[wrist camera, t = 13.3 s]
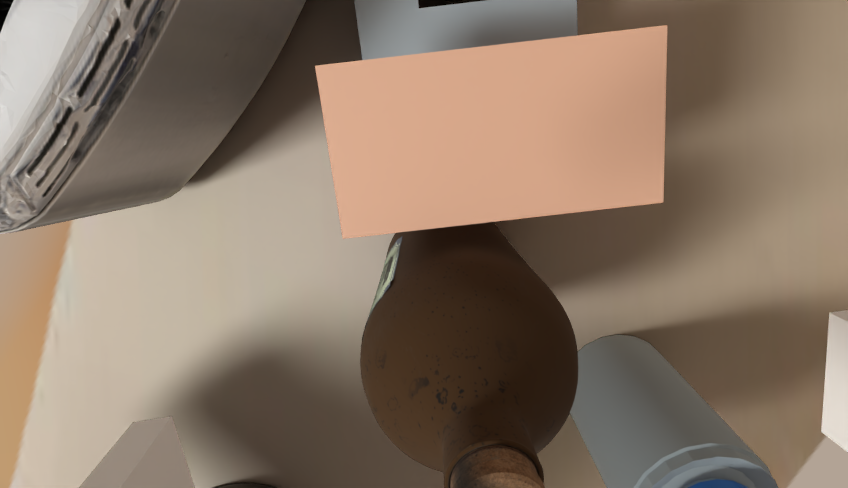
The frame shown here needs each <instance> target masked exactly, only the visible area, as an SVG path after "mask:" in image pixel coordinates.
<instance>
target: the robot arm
mask: <svg viewBox="0 0 848 488" xmlns="http://www.w3.org/2000/svg"><path fill="white" fill-rule="evenodd" d="M821 432H822V433H823V434H825V435H826V436H827V437H829V438H830V439H831V440H832V441H834V442H835V443H836V444H838V445H839V446H840V447H841V448H843V449H844V450H845V451H847V452H848V310H844V311H837V312H831V313H829V327H828V341H827V356H826V370H825V385H824V400H823V414H822V429H821ZM79 488H195V487H194V484H193V481H192V477H191V474H190V471H189V468H188V465H187V462H186V459H185V455H184V452H183V449H182V446H181V443H180V440H179V436H178V433H177V430H176V427H175V424H174V421H173V418H172V416H169V417H163V418H157V419H150V420H144V421H137V422H133V423H132V424H131V425H130V427H129V428H128V429H127V430H126V431H125V433H124V434H123V435H122V436H121V437H120V439H119V440H118V441H117V442H116V444H115V445H114V446H113V447H112V448H111V450H110V451H109V452H108V453H107V454H106V456H105V457H104V458H103V459H102V460H101V462H100V463H99V464H98V465H97V466H96V468H95V469H94V470H93V471H92V472H91V474H90V475H89V476H88V477H87V478H86V480H85V481H84V482H83V483H82V485H81V486H80V487H79ZM217 488H275V487H271V486H267V485H261V484H249V483H244V484H231V485H225V486H221V487H217Z"/></svg>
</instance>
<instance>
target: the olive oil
mask: <svg viewBox="0 0 848 488" xmlns="http://www.w3.org/2000/svg"><path fill="white" fill-rule="evenodd" d="M360 364H361V376H362V382H363V386H364V390H365V393H366V396H367V399H368V402H369V405H370V407H371V410H372V412H373V414H374V416H375V418H376V420H377V422H378V423H379V425H380V427H381V428H382V430H383V431H384V433H385V434H386V435H387V436H388V438H389V439H390V440H391V441H392V442H393V443H394V444H395V445H396V446H397V447H398V448H399V449H400V450H401V451H403V452H404V453H405V454H406V455H408V456H409V457H411V458H412V459H414V460H416V461H417V462H419V463H421V464H423V465H425V466H427V467H430V468H432V469H435V470H438V471H441V472H444V488H545V487H544V484H543V482H544V475H543V469H542V466H541V464H540V462H539V460H538V457H537V453H538V452H540V451H541V450H542V449H543V448H544V447H545V446H546V445H548V444H549V442H550V441H551V440H552V439H553V438H554V437H555V436H556V434H557V433H558V432H559V430H560V429H561V427H562V426H563V424H564V423H565V421H566V419H567V417H568V415H569V413H570V410H571V408H572V405H573V402H574V399H575V395H576V390H577V384H578V352H577V345H576V339H575V335H574V332H573V329H572V326H571V323H570V320H569V318H568V316H567V314H566V312H565V310H564V308H563V307H562V305H561V303H560V302H559V301H558V299H557V298H556V296H555V295H554V294H553V292H552V291H551V290H550V289H549V288H548V287H547V286H546V284H545V283H544V282H543V281H542V280H541V279H540V278H539V277H538V276H537V274H536V273H535V272H534V271H533V270H532V269H531V268H530V267H529V266H528V265H527V263H526V262H525V261H524V260H523V259H522V258H521V256H520V255H519V254H518V253H517V252H516V251H515V249H514V248H513V247H512V246H511V245H510V244H509V242H508V241H507V240H506V238H505V237H504V236H503V234H502V233H501V232H500V231H499V229H498V228H497V227H496V226H495V224H494V223H493V222H487V223H478V224H469V225H460V226H451V227H443V228H434V229H425V230H416V231H407V232H398V233H395V235H394V237H393V238H392V241H391V243H390V246H389V249H388V253H387V257H386V261H385V264H384V268H383V272H382V275H381V279H380V282H379V285H378V289H377V292H376V295H375V298H374V302H373V305H372V308H371V311H370V314H369V317H368V320H367V323H366V326H365V330H364V333H363V338H362V345H361V359H360Z"/></svg>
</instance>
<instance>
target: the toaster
mask: <svg viewBox="0 0 848 488" xmlns="http://www.w3.org/2000/svg"><path fill="white" fill-rule="evenodd" d="M305 1H306V0H0V234H3V233H12V232H17V231H22V230H26V229H31V228H36V227H40V226H45V225H50V224H55V223H59V222H65V221H69V220H74V219H78V218H83V217H88V216H93V215H97V214H102V213H107V212H112V211H116V210H121V209H126V208H131V207H136V206H140V205H144V204H150V203H154V202H158V201H161V200H164V199H167V198H169V197H171V196H172V195H174V194H175V193H177V192H178V191H180V190H181V188H182V187H183V186H184V185H185V184H186V183H187V182H188V181H189V180H190V179H191V177H192V176H193V175H194V174H195V173H196V172H197V171H198V170H199V168H200V167H201V166H202V165H203V163H204V162H205V161H206V160H207V159H208V157H209V156H210V155H211V154H212V153H213V151H214V150H215V149H216V148H217V146H218V145H219V144H220V143H221V141H222V140H223V139H224V138H225V136H226V135H227V134H228V132H229V131H230V130H231V128H232V127H233V125H234V124H235V123H236V121H237V120H238V118H239V117H240V116H241V114H242V113H243V111H244V110H245V108H246V107H247V106H248V104H249V103H250V101H251V100H252V98H253V97H254V95H255V94H256V92H257V91H258V89H259V88H260V86H261V84H262V83H263V81H264V79H265V78H266V76H267V74H268V73H269V71H270V70H271V68H272V66H273V64H274V63H275V61H276V59H277V57H278V55H279V54H280V52H281V50H282V48H283V46H284V44H285V43H286V41H287V39H288V37H289V35H290V33H291V31H292V29H293V26H294V24H295V22H296V20H297V18H298V16H299V14H300V12H301V10H302V8H303V6H304V4H305Z"/></svg>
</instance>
